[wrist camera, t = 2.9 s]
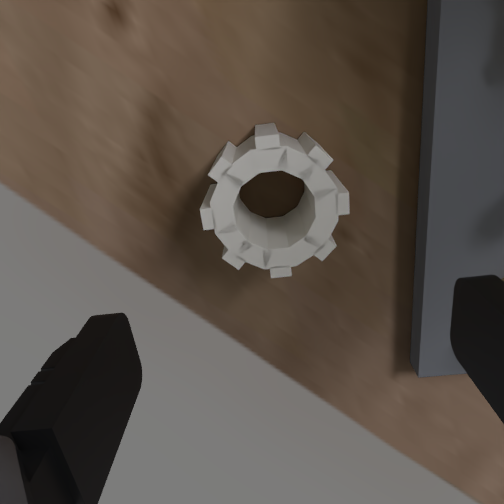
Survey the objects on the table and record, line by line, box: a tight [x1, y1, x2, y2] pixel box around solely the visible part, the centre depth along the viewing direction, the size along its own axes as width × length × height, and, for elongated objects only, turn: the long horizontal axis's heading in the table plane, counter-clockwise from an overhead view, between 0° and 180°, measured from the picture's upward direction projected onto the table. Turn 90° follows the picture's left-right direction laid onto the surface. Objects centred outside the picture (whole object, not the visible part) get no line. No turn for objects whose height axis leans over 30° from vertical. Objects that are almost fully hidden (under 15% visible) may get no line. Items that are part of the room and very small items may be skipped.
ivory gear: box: [200, 123, 350, 278], centre depth 20 cm, size 7×7×4 cm
